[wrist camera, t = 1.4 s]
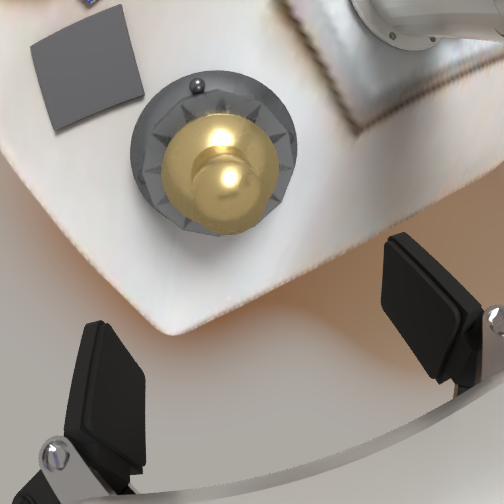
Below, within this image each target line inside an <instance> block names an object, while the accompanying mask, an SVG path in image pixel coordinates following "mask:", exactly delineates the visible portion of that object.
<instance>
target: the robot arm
mask: <svg viewBox="0 0 504 504" xmlns="http://www.w3.org/2000/svg"><path fill="white" fill-rule="evenodd" d="M351 1H352V4H353V6H354V8H355V10H356V12H357V13H358V15H359V17H360V18H361V20H362V21H363V22H364V24H365V25H366V26H367V27H368V28H369V29H370V30H371V31H372V32H373V33H374V34H375V35H376V36H377V37H379V38H380V39H381V40H383V41H384V42H386V43H388V44H390V45H391V46H394V47H397V48H399V49H403V50H410V51H420V50H425V49H428V48H430V47H432V46H434V45H435V44H437V43H438V42H439V41H440V40H441V38H442V37H448V38H465V39H476V40H486V41H494V42H502V43H504V0H351ZM381 305H382V308H383V310H384V312H385V313H386V315H387V316H388V317H389V318H390V320H391V321H392V323H393V324H394V326H395V327H396V328H397V330H398V331H399V333H400V334H401V336H402V337H403V338H404V340H405V341H406V343H407V344H408V346H409V347H410V349H411V350H412V351H413V353H414V354H415V356H416V357H417V359H418V360H419V362H420V363H421V365H422V366H423V368H424V369H425V371H426V372H427V374H428V375H429V377H431V378H432V379H436V381H437V382H438V384H441V383H443V382H445V381H447V380H448V379H450V378H451V379H452V380H453V382H454V383H455V387H454V394H453V399H452V400H450V401H449V402H447V403H445V404H443V405H442V406H440V407H438V408H436V409H434V410H432V411H430V412H428V413H427V414H425V415H423V416H421V417H419V418H417V419H415V420H413V421H411V422H409V423H407V424H405V425H403V426H401V427H399V428H397V429H394V430H393V431H390V432H388V433H386V434H384V435H381V436H379V437H377V438H374V439H372V440H370V441H367V442H365V443H362V444H360V445H357V446H355V447H352V448H350V449H347V450H345V451H342V452H339V453H336V454H334V455H331V456H328V457H325V458H322V459H319V460H316V461H313V462H310V463H307V464H303V465H300V466H297V467H293V468H290V469H286V470H283V471H279V472H275V473H272V474H267V475H263V476H259V477H255V478H250V479H246V480H241V481H237V482H232V483H226V484H221V485H215V486H208V487H203V488H195V489H187V490H179V491H169V492H160V493H148V494H140V493H139V492H138V491H137V490H136V489H135V488H134V486H132V484H131V483H130V475H137V474H143V468H142V466H145V464H146V444H145V443H146V442H145V375H144V373H143V371H142V370H141V368H140V367H139V366H138V364H137V363H136V362H135V361H134V359H133V357H132V356H131V355H130V353H129V352H128V350H127V349H126V348H125V346H124V345H123V343H122V342H121V341H120V339H119V338H118V336H117V335H116V333H115V332H114V330H113V329H112V327H111V326H110V325H109V324H108V323H106V324H105V323H104V322H103V321H102V320H100V321H96V322H92V323H88V324H86V325H85V327H84V331H83V335H82V339H81V343H80V347H79V351H78V356H77V360H76V364H75V369H74V374H73V379H72V384H71V389H70V394H69V399H68V405H67V411H66V417H65V425H64V437H63V436H54V437H51V438H49V439H48V440H46V442H45V443H44V444H43V445H42V447H41V449H40V452H39V465H40V468H41V469H40V470H39V472H38V473H37V474H36V475H35V476H34V477H33V478H32V479H31V480H30V481H29V482H28V483H27V484H26V485H25V486H24V487H23V488H22V489H21V490H20V491H19V492H18V493H17V494H16V496H15V497H14V499H13V502H12V504H504V306H503V305H494V306H490V307H489V308H487V309H486V310H485V311H484V310H483V309H482V308H481V304H480V303H479V302H478V301H477V300H476V299H475V298H474V297H473V296H472V295H471V294H470V293H469V292H468V291H467V290H466V289H465V288H464V287H463V286H462V285H461V284H460V283H459V282H458V281H457V280H456V279H455V278H454V277H453V276H452V275H451V274H450V273H449V272H448V271H447V270H446V269H445V268H444V267H443V266H442V265H441V264H440V263H439V262H438V261H436V260H435V259H434V258H433V257H432V256H431V255H430V254H429V253H428V252H427V251H426V250H425V249H423V248H422V247H421V246H420V245H419V244H418V243H417V242H416V241H415V240H414V239H412V238H411V237H410V236H409V235H408V234H407V233H405V232H402V233H399V234H396V235H393V236H390V237H389V238H388V241H387V242H386V243H385V245H384V262H383V280H382V293H381Z"/></svg>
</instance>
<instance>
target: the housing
mask: <svg viewBox="0 0 504 504" xmlns="http://www.w3.org/2000/svg"><path fill="white" fill-rule="evenodd" d="M212 113H230V114H235V115H239V116H241V117H244V118H246V119H248V120H250V121H252V122H253V123H254V124H256V125H257V126H258V127H260V128H261V129H262V130H263V131H264V132H265V133H266V134H267V136H268V137H269V138H270V140H271V141H272V143H273V145H274V147H275V149H276V152H277V156H278V162H279V175H278V180H277V184H276V187H275V189H274V191H273V193H272V195H271V197H270V198H269V200H268V201H267V205H266V208H265V211H264V213H263V215H262V217H261V218H260V219H259V221H258V222H257V223H256V224H258V223H259V222H260V221H261V220H262V219H263V218H264V217H265V216H267V215H268V214H269V213H270V212H271V211H272V210H273V209H274V208H276V207H277V206H278V205H279V204H280V203H281V202H282V200H283V197H284V194H285V192H286V189H287V186H288V184H289V181H290V179H291V176H292V174H293V171H294V167H295V163H296V157H297V137H296V132H295V127H294V124H293V121H292V119H291V116H290V114H289V112H288V111H287V109H286V107H285V105H284V104H283V103H282V102H281V100H280V99H279V98H278V97H277V96H276V95H275V94H274V93H273V92H272V91H271V90H270V89H269V88H267V87H266V86H265V85H263V84H262V83H260V82H258V81H257V80H255V79H253V78H251V77H248V76H245V75H243V74H239V73H235V72H230V71H218V70H217V71H204V72H199V73H194V74H191V75H188V76H185V77H182V78H180V79H178V80H176V81H174V82H172V83H171V84H169V85H168V86H166V87H165V88H163V89H162V90H161V91H160V92H159V93H157V94H156V95H155V96H154V97H153V98H152V99H151V101H150V102H149V103H148V104H147V105H146V107H145V108H144V110H143V111H142V113H141V115H140V116H139V119H138V121H137V123H136V125H135V128H134V132H133V135H132V140H131V147H130V159H131V167H132V171H133V175H134V178H135V181H136V183H137V185H138V187H139V189H140V191H141V193H142V194H143V196H144V197H145V198H146V200H147V201H148V202H149V203H150V205H151V206H153V207H154V208H155V209H156V210H157V211H158V212H159V213H161V214H162V215H164V216H165V217H166V218H168V219H170V220H171V221H173V222H174V223H175V224H176V225H178V226H179V227H180V228H181V229H182V230H187V231H192V232H198V233H203V234H208V235H213V236H222V235H224V234H218V233H215V232H212V231H210V230H208V229H207V228H205V227H204V226H203V225H202V224H201V223H198V222H195V221H193V220H191V219H189V218H187V217H185V216H184V215H183V214H181V213H180V212H179V211H178V210H177V209H176V208H175V207H174V206H173V205H172V203H171V202H170V200H169V199H168V197H167V195H166V193H165V190H164V187H163V183H162V176H161V171H162V162H163V158H164V154H165V151H166V149H167V146H168V144H169V142H170V141H171V139H172V138H173V136H174V135H175V134H176V133H177V132H178V130H180V129H181V128H182V127H183V126H184V125H186V124H187V123H189V122H190V121H192V120H194V119H196V118H198V117H201V116H203V115H207V114H212ZM256 224H255V225H256ZM255 225H254V226H255ZM254 226H252V227H254Z"/></svg>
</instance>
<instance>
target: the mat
mask: <svg viewBox="0 0 504 504" xmlns="http://www.w3.org/2000/svg"><path fill="white" fill-rule="evenodd" d="M30 49H31V53H32V57H33V61H34V65H35V69H36V73H37V77H38V80H39V84H40V88H41V91H42V95H43V98H44V101H45V104H46V108H47V111H48V114H49V117H50V120H51V123H52V126H53V129H54V131H56V130H58V129H60V128H62V127H64V126H67V125H69V124H71V123H73V122H75V121H77V120H80V119H82V118H84V117H87V116H89V115H91V114H94V113H96V112H98V111H101V110H103V109H106V108H108V107H111V106H113V105H116V104H119V103H121V102H124V101H127V100H129V99H132V98H135V97H138V96H141V95H144V94H145V93H144V89H143V86H142V82H141V79H140V75H139V71H138V68H137V64H136V60H135V57H134V53H133V49H132V45H131V41H130V37H129V33H128V29H127V25H126V21H125V17H124V13H123V9H122V5H121V4H119V5H117V6H114V7H111V8H109V9H106V10H104V11H101V12H99V13H96V14H94V15H92V16H89V17H87V18H85V19H83V20H80V21H78V22H76V23H74V24H72V25H70V26H68V27H66V28H63V29H61V30H60V31H58V32H56V33H54V34H52V35H50V36H48V37H46V38H44V39H42V40H41V41H39V42H37V43H35V44H34V45H32V46H30Z"/></svg>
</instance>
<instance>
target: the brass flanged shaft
mask: <svg viewBox="0 0 504 504" xmlns="http://www.w3.org/2000/svg"><path fill="white" fill-rule="evenodd" d="M278 175H279V162H278V156H277V152H276V149H275V147H274V145H273V143H272V141H271V140H270V138H269V137H268V136H267V134H266V133H265V132H264V131H263V130H262V129H261V128H260V127H258V126H257V125H256V124H254V123H253V122H252V121H250V120H248V119H246V118H244V117H241V116H239V115H235V114H230V113H212V114H207V115H203V116H201V117H198V118H196V119H194V120H192V121H190V122H189V123H187V124H186V125H184V126H183V127H182V128H181V129H180V130H178V132H177V133H176V134H175V135H174V136H173V138H172V139H171V141H170V142H169V144H168V146H167V149H166V151H165V154H164V158H163V162H162V171H161V176H162V183H163V187H164V190H165V193H166V195H167V197H168V199H169V200H170V202H171V203H172V205H173V206H174V207H175V208H176V209H177V210H178V211H179V212H180V213H181V214H183V215H184V216H185V217H187V218H189V219H191V220H193V221H195V222H198V223H201V224H202V225H203V226H204V227H205V228H207V229H208V230H210V231H212V232H215V233H218V234H224V235H232V234H237V233H241V232H244V231H246V230H248V229H249V228H251V227H252V226H254V225H255V224H256V223H257V222H258V221H259V219H260V218H261V217H262V215H263V213H264V211H265V208H266V205H267V201H268V200H269V198H270V197H271V195H272V193H273V191H274V189H275V187H276V184H277V180H278Z"/></svg>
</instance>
